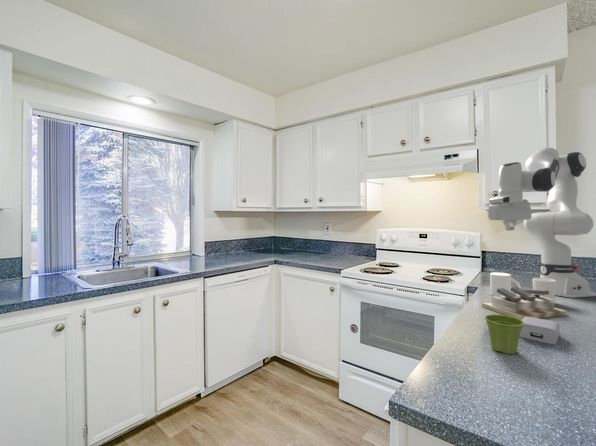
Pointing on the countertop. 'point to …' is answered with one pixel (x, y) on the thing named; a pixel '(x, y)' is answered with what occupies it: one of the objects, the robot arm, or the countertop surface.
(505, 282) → the mug
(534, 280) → the white cup
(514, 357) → the countertop surface
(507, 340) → the plant pot
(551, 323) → the charger
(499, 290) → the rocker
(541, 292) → the rocker
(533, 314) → the switch panel
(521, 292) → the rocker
